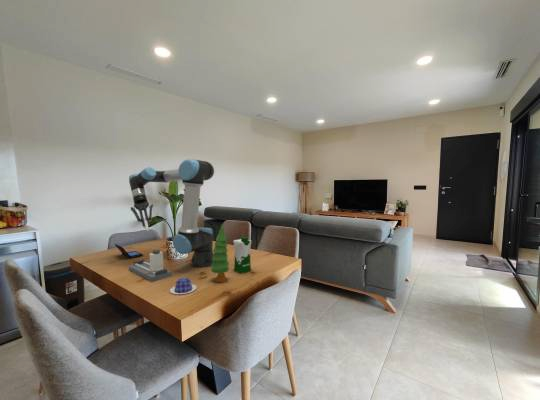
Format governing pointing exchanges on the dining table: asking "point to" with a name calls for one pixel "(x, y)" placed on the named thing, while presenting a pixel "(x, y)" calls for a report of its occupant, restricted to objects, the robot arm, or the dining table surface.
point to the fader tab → (156, 260)
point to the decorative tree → (220, 256)
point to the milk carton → (242, 255)
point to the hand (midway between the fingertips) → (147, 230)
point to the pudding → (183, 286)
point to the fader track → (149, 271)
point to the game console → (129, 253)
